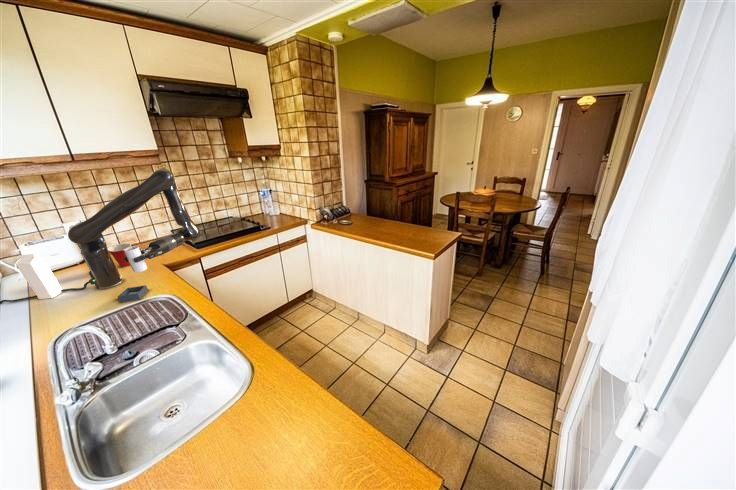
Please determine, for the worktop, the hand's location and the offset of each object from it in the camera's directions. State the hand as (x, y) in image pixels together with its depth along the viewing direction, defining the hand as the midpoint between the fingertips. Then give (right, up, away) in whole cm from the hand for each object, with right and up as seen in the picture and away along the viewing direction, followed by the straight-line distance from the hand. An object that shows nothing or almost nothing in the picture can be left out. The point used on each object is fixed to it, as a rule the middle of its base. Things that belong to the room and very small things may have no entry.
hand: (129, 260), depth 119 cm
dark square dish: (-2, -17, +5) cm, 18 cm away
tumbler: (+1, -5, +5) cm, 7 cm away
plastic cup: (-36, -5, +39) cm, 53 cm away
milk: (-48, -18, +11) cm, 52 cm away
